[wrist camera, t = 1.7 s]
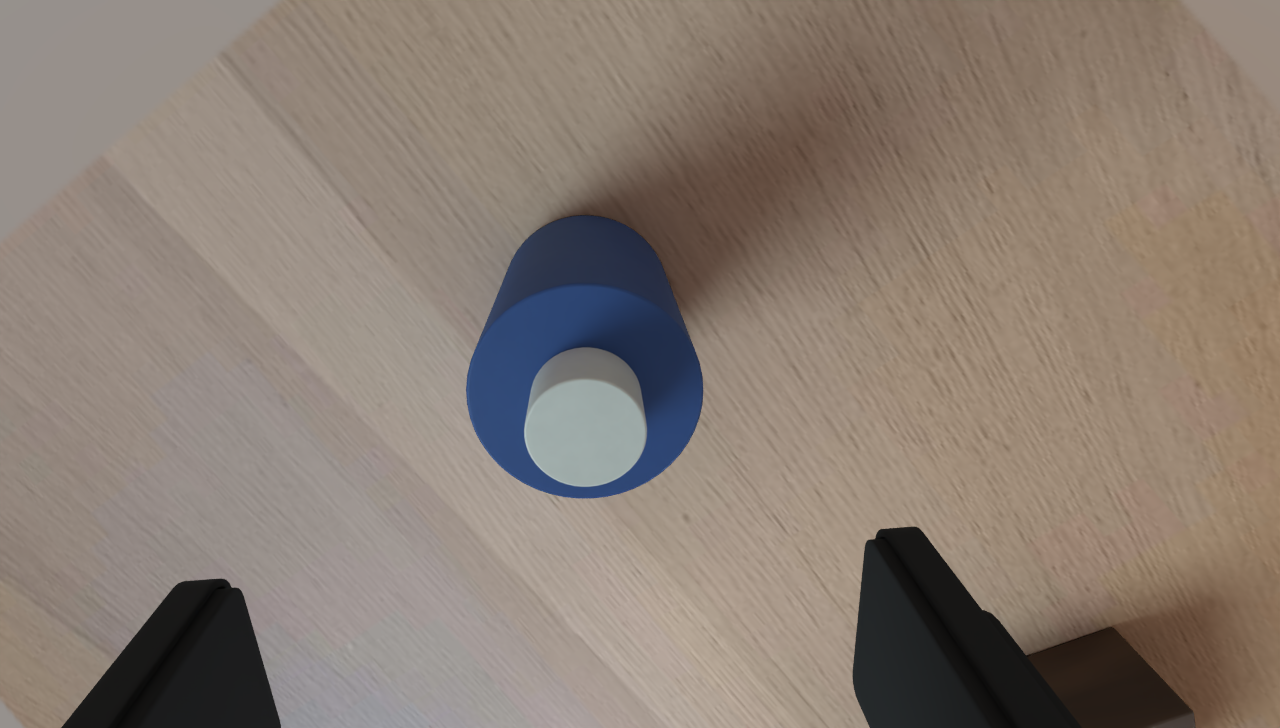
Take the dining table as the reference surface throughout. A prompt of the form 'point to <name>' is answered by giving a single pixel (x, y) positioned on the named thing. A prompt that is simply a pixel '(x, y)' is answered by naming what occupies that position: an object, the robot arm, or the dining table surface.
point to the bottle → (585, 364)
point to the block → (1110, 684)
